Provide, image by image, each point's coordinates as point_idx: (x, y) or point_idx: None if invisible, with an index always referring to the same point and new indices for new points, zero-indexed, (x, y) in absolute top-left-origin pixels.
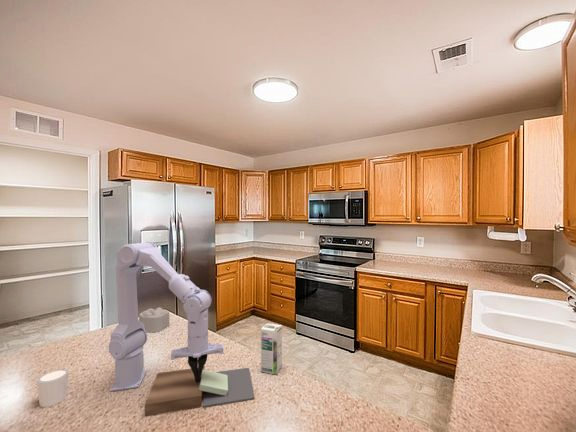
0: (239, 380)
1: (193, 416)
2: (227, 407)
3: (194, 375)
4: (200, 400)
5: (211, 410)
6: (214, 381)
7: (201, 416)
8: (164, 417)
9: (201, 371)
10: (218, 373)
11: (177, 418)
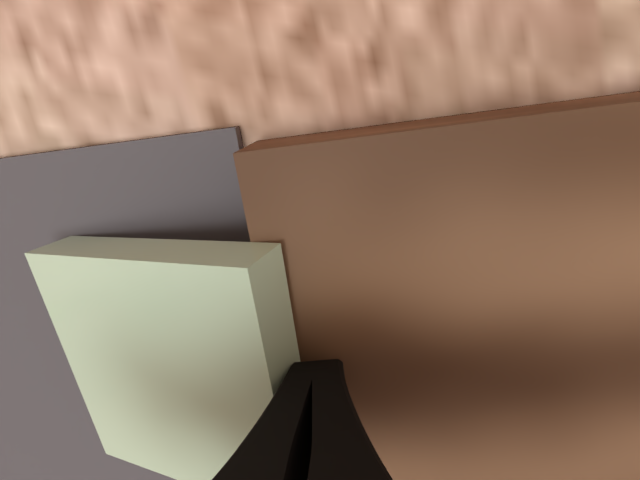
0: (28, 401)
1: (296, 16)
2: (28, 104)
3: (348, 409)
4: (251, 146)
5: (155, 81)
6: (150, 357)
7: (222, 7)
8: (561, 37)
9: (242, 447)
10: (164, 470)
11: (438, 6)
